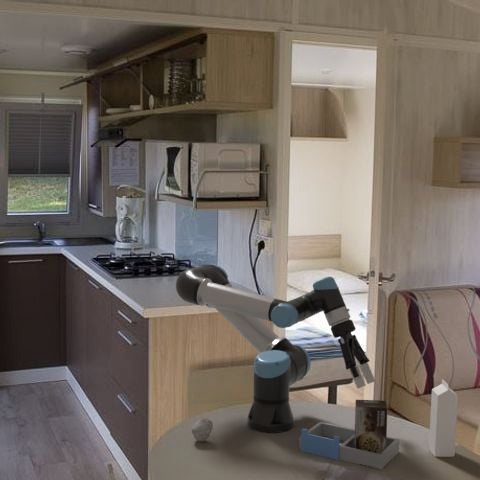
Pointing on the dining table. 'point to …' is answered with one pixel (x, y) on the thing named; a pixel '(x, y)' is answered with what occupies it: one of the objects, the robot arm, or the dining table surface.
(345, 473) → the dining table surface
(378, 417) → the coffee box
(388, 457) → the two-compartment sorting tray
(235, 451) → the dining table surface
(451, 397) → the milk
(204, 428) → the grey lumpy rounded piece
